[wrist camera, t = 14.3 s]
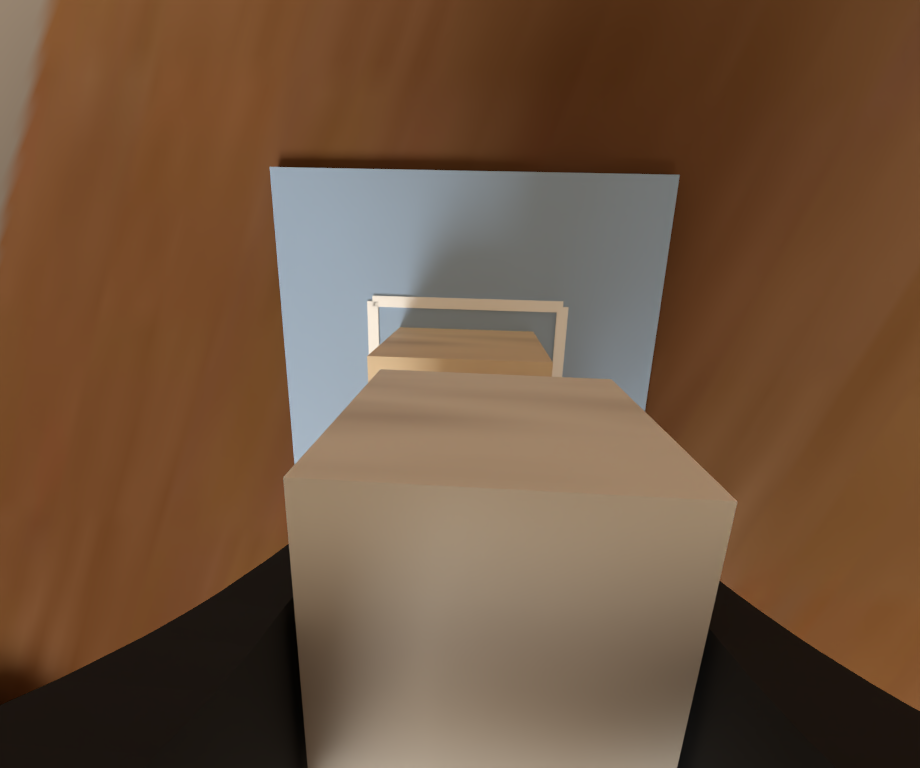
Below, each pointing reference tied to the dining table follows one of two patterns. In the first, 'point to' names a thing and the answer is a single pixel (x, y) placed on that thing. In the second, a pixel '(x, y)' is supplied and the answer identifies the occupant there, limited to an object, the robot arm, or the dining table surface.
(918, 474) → the dining table surface
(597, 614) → the birch brick
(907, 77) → the dining table surface
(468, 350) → the maple brick
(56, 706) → the robot arm
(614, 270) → the board
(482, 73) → the dining table surface
